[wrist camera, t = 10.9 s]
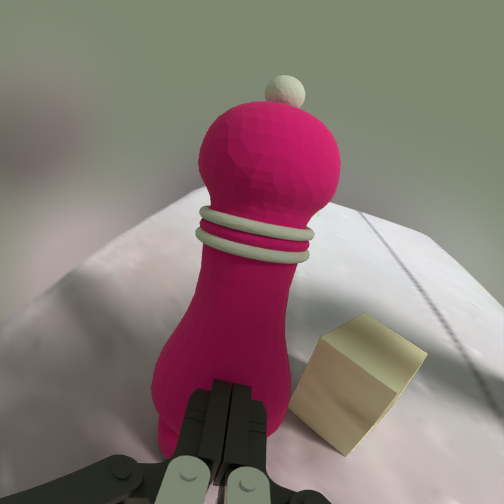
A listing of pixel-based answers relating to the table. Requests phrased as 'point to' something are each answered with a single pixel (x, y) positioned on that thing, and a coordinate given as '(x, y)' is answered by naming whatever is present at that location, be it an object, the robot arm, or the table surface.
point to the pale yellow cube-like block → (354, 380)
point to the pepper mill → (248, 254)
